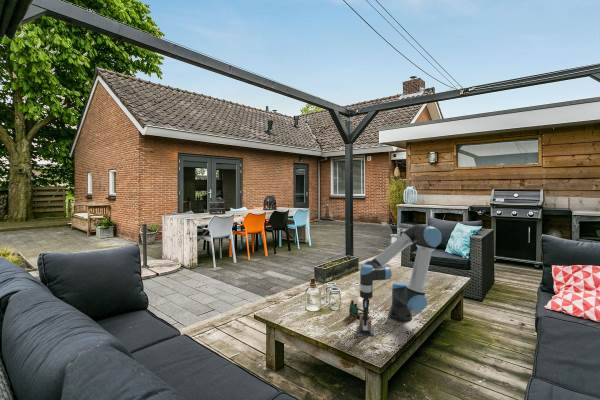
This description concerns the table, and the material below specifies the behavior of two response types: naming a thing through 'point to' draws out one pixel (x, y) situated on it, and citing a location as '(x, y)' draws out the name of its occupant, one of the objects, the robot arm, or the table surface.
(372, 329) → the keeper
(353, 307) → the binoculars
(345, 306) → the table surface
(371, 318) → the link
